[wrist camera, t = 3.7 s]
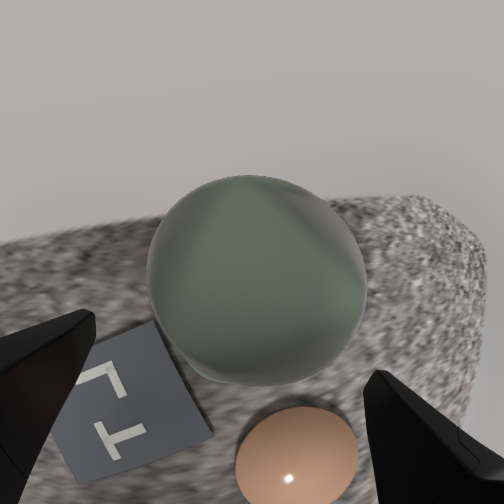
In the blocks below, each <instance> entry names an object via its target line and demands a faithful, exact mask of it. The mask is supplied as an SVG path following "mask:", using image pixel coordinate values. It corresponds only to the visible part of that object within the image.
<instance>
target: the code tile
mask: <svg viewBox="0 0 504 504" xmlns="http://www.w3.org/2000/svg"><path fill="white" fill-rule="evenodd" d="M50 431H51V433H52V436H53V438H54V440H55V442H56V444H57V446H58V448H59V450H60V452H61V454H62V456H63V457H64V459H65V461H66V463H67V465H68V467H69V468H70V470H71V472H72V474H73V475H74V477H75V479H76V480H77V482H78V484H81V483H85V482H89V481H93V480H97V479H101V478H104V477H108V476H111V475H115V474H118V473H121V472H124V471H128V470H131V469H134V468H137V467H140V466H142V465H145V464H148V463H151V462H154V461H156V460H159V459H162V458H164V457H167V456H169V455H172V454H174V453H177V452H179V451H182V450H184V449H186V448H189V447H191V446H193V445H196V444H198V443H200V442H202V441H205V440H207V439H209V438H211V437H213V436H214V435H213V433H212V432H211V430H210V429H209V427H208V425H207V424H206V422H205V420H204V418H203V417H202V415H201V413H200V412H199V410H198V408H197V406H196V405H195V403H194V401H193V399H192V397H191V396H190V394H189V392H188V390H187V388H186V386H185V384H184V383H183V381H182V379H181V377H180V375H179V373H178V371H177V369H176V367H175V365H174V363H173V361H172V359H171V357H170V355H169V353H168V351H167V349H166V347H165V345H164V343H163V341H162V338H161V336H160V334H159V332H158V330H157V328H156V325H155V323H154V321H153V320H152V321H149V322H147V323H145V324H143V325H140V326H138V327H136V328H133V329H131V330H129V331H127V332H124V333H122V334H120V335H117V336H115V337H113V338H111V339H108V340H106V341H104V342H101V343H99V344H97V345H94V346H92V348H91V350H90V353H89V355H88V357H87V359H86V362H85V364H84V366H83V369H82V371H81V373H80V376H79V378H78V380H77V382H76V384H75V385H74V387H73V389H72V391H71V392H70V394H69V396H68V398H67V400H66V402H65V403H64V405H63V407H62V409H61V411H60V413H59V415H58V417H57V419H56V421H55V423H54V424H53V426H52V428H51V430H50Z"/></svg>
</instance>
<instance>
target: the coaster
mask: <svg viewBox="0 0 504 504" xmlns="http://www.w3.org/2000/svg"><path fill="white" fill-rule="evenodd" d="M358 457H359V454H358V444H357V440H356V437H355V435H354V433H353V431H352V429H351V428H350V427H349V425H348V424H347V423H346V422H345V421H344V420H343V419H342V418H340V417H339V416H337V415H336V414H334V413H332V412H330V411H327V410H324V409H320V408H315V407H292V408H287V409H283V410H281V411H278V412H275V413H273V414H271V415H269V416H267V417H266V418H264V419H263V420H261V421H260V422H259V423H257V424H256V425H255V426H254V427H253V428H252V429H251V430H250V431H249V432H248V434H247V435H246V436H245V437H244V439H243V441H242V443H241V444H240V446H239V449H238V451H237V455H236V459H235V475H236V480H237V483H238V485H239V488H240V490H241V492H242V493H243V495H244V497H245V498H246V499H247V500H248V501H249V502H250V503H251V504H330V503H332V502H333V501H335V500H336V499H337V498H338V497H339V496H340V495H341V494H342V493H343V492H344V491H345V490H346V488H347V487H348V485H349V484H350V482H351V480H352V478H353V476H354V474H355V471H356V468H357V464H358Z"/></svg>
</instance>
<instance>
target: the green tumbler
mask: <svg viewBox="0 0 504 504" xmlns="http://www.w3.org/2000/svg"><path fill="white" fill-rule="evenodd" d="M146 283H147V290H148V295H149V300H150V304H151V306H152V309H153V312H154V315H155V317H156V319H157V321H158V323H159V325H160V327H161V328H162V330H163V332H164V333H165V335H166V336H167V337H168V339H169V340H170V341H171V343H172V344H173V345H174V347H175V348H176V349H177V350H178V351H179V352H180V353H181V354H182V355H183V357H184V358H185V360H186V361H187V362H188V364H189V365H190V366H191V367H192V369H193V370H194V371H195V372H196V373H198V374H199V375H200V376H202V377H204V378H206V379H208V380H210V381H213V382H217V383H229V384H241V385H250V386H275V385H283V384H288V383H292V382H296V381H299V380H301V379H304V378H307V377H309V376H311V375H313V374H315V373H317V372H319V371H320V370H322V369H324V368H325V367H326V366H328V365H329V364H330V363H332V362H333V361H334V360H335V359H336V358H337V357H338V356H339V355H340V354H341V353H342V352H343V351H344V350H345V349H346V347H347V346H348V345H349V343H350V342H351V340H352V339H353V337H354V335H355V334H356V332H357V330H358V328H359V326H360V323H361V320H362V317H363V314H364V310H365V305H366V299H367V276H366V270H365V265H364V260H363V257H362V254H361V251H360V248H359V246H358V244H357V242H356V240H355V238H354V236H353V234H352V233H351V231H350V230H349V228H348V226H347V225H346V224H345V223H344V221H343V220H342V219H341V217H340V216H339V215H338V214H337V213H336V212H335V211H334V210H333V209H332V208H331V207H330V206H329V205H327V204H326V203H325V202H324V201H323V200H321V199H320V198H318V197H317V196H315V195H314V194H312V193H311V192H309V191H307V190H305V189H303V188H302V187H300V186H297V185H295V184H292V183H289V182H287V181H283V180H280V179H276V178H271V177H266V176H253V175H245V176H234V177H227V178H223V179H219V180H216V181H212V182H210V183H207V184H205V185H203V186H201V187H199V188H197V189H195V190H194V191H192V192H190V193H189V194H187V195H186V196H185V197H183V198H182V199H181V200H179V202H177V203H176V204H175V205H174V206H173V207H172V208H171V209H170V210H169V212H168V213H167V214H166V215H165V217H164V218H163V219H162V221H161V223H160V224H159V226H158V228H157V230H156V232H155V234H154V237H153V239H152V241H151V244H150V248H149V252H148V256H147V266H146Z"/></svg>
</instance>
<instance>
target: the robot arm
mask: <svg viewBox="0 0 504 504" xmlns="http://www.w3.org/2000/svg"><path fill="white" fill-rule="evenodd" d="M95 338H96V322H95V314H94V313H93V312H92V311H89V310H86V309H80V310H77V311H74V312H71V313H68V314H66V315H63V316H60V317H57V318H54V319H52V320H49V321H46V322H43V323H40V324H38V325H35V326H32V327H29V328H26V329H24V330H21V331H18V332H15V333H12V334H10V335H7V336H4V337H1V338H0V504H18V503H19V500H20V498H21V495H22V492H23V490H24V488H25V485H26V483H27V479H28V478H29V475H30V473H31V471H32V468H33V466H34V464H35V462H36V460H37V457H38V455H39V453H40V451H41V449H42V447H43V445H44V443H45V441H46V439H47V436H48V434H49V432H50V430H51V428H52V426H53V424H54V423H55V421H56V419H57V417H58V415H59V413H60V411H61V409H62V407H63V405H64V403H65V402H66V400H67V398H68V396H69V394H70V392H71V391H72V389H73V387H74V385H75V384H76V382H77V380H78V378H79V376H80V373H81V371H82V369H83V366H84V364H85V362H86V359H87V357H88V355H89V353H90V350H91V348H92V346H93V344H94V341H95ZM363 398H364V408H365V419H366V429H367V436H368V441H369V446H370V452H371V458H372V463H373V469H374V475H375V482H376V488H377V495H378V502H379V504H504V458H502V457H501V456H499V455H498V454H496V453H495V452H493V451H492V450H490V449H488V448H487V447H485V446H484V445H482V444H481V443H479V442H478V441H476V440H475V439H474V438H472V437H471V436H469V435H468V434H467V433H466V432H464V431H463V430H462V429H460V428H459V427H458V426H457V427H456V425H455V424H454V423H453V422H451V421H450V420H449V419H448V418H446V417H445V416H444V415H442V414H441V413H440V412H439V411H437V410H436V409H435V408H434V407H432V406H431V405H430V404H428V403H427V402H426V401H425V400H423V399H422V398H421V397H420V396H418V395H417V394H416V393H415V392H413V391H412V390H411V389H409V388H408V387H407V386H406V385H404V384H403V383H402V382H401V381H399V380H398V379H397V378H396V377H394V376H393V375H392V374H391V373H389V372H388V371H386V370H376V371H374V372H373V374H372V376H371V377H370V379H369V381H368V382H367V384H366V385H365V387H364V390H363Z"/></svg>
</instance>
